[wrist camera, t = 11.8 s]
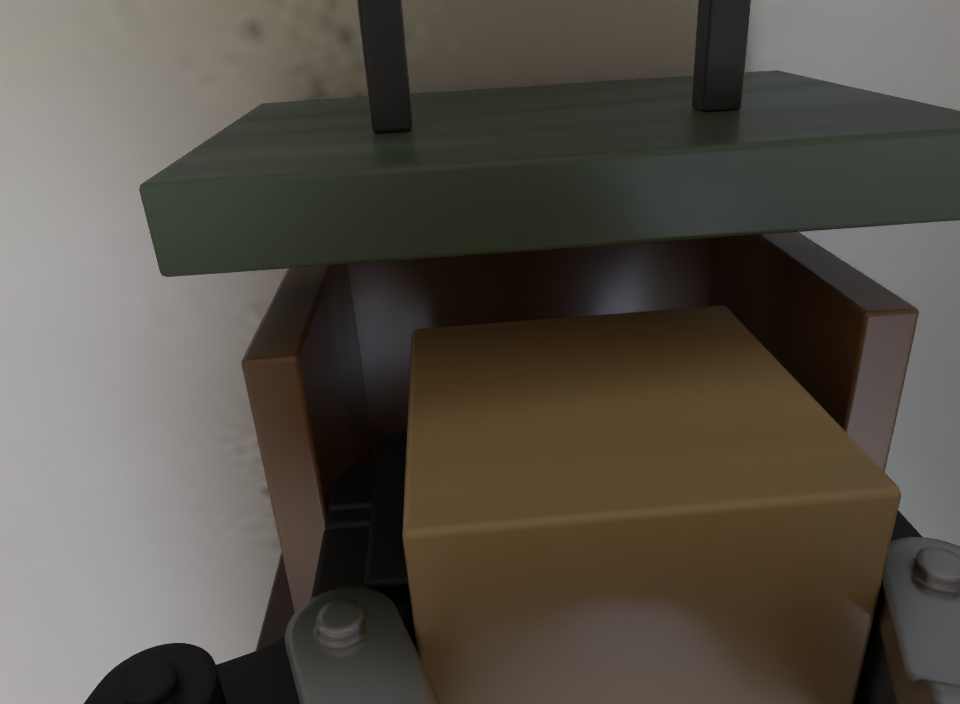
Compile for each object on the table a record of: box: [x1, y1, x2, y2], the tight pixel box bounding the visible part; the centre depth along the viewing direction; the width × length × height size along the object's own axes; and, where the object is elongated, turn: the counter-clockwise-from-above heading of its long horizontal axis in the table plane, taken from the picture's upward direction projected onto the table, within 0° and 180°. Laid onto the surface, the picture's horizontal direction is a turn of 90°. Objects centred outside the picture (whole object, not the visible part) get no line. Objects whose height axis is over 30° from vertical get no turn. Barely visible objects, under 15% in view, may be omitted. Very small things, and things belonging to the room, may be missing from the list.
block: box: [402, 305, 901, 704], centre depth 11 cm, size 5×5×5 cm
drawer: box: [140, 0, 960, 612], centre depth 14 cm, size 18×11×7 cm, turn 3°
